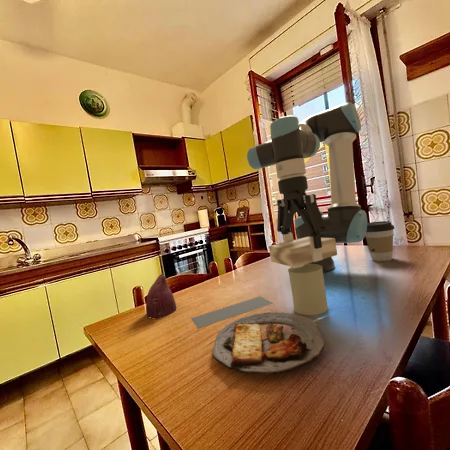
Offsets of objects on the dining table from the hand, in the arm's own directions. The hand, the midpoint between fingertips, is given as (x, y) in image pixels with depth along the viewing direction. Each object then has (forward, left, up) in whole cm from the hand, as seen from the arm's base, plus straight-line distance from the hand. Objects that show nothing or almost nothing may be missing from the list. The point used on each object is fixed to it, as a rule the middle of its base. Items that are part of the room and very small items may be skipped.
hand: (303, 257), depth 71 cm
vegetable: (-31, -37, -15) cm, 50 cm away
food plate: (+8, -19, -15) cm, 25 cm away
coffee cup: (-17, +51, -15) cm, 56 cm away
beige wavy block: (0, 0, 0) cm, 0 cm away
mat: (-14, -18, -14) cm, 27 cm away
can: (0, 0, -15) cm, 15 cm away
